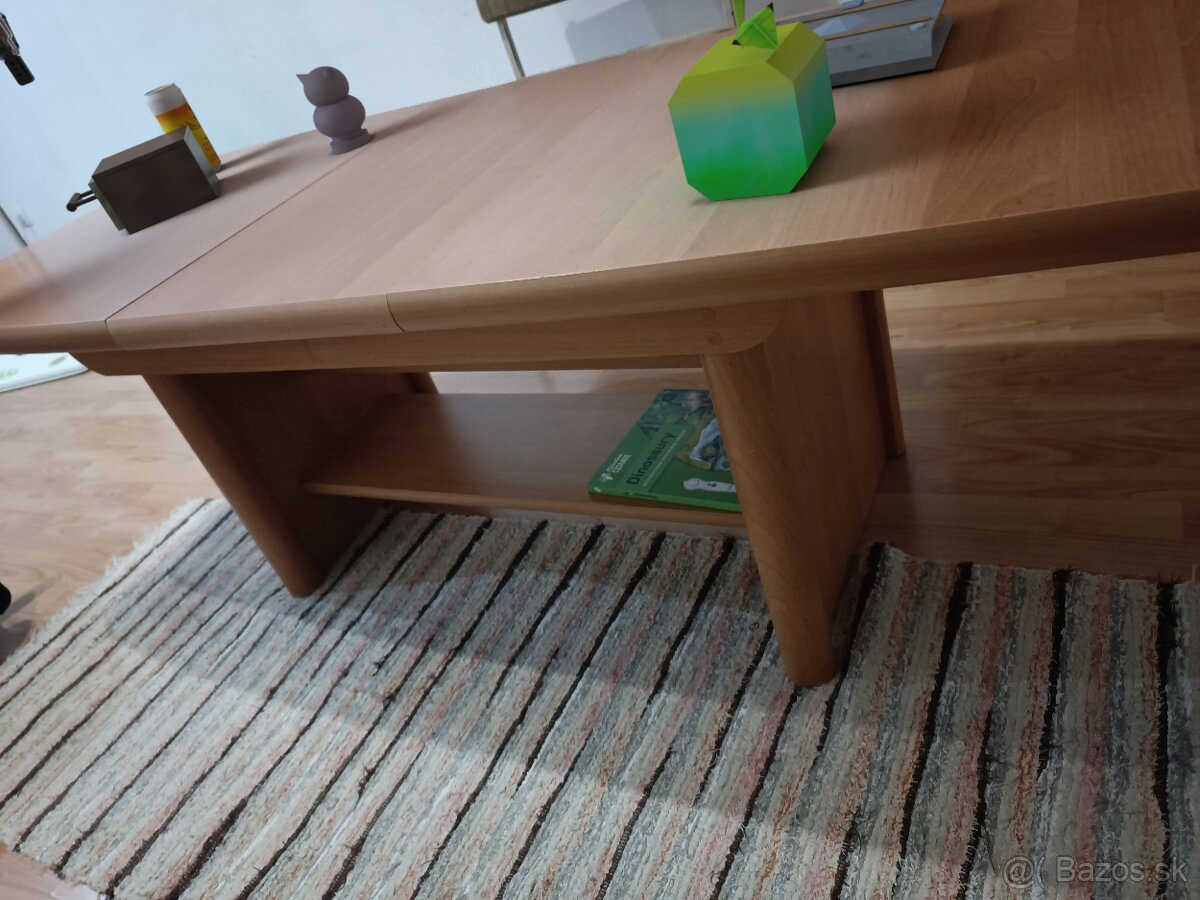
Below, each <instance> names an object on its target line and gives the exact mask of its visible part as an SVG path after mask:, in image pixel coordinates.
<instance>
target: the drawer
mask: <svg viewBox="0 0 1200 900" xmlns="http://www.w3.org/2000/svg"><path fill="white" fill-rule="evenodd" d="M87 186H88V187H89V190H87V191H84V192H81V193H80V192H74V193H73V194H72V196H71V197H70V198H69V200H68V202H67V203H66V205H65V209H66V210H67V211H68V212H69V213H75V212H77V209H78V208H79V207H81V206H84V205H86V204H88V203H90V202H94V201H95V200H97V201H98V202H99V204H100V205H101V207H102V208H103V210H104V211H105V213H106V214H107V216H108V217H109V219H110V220H111V222H112V223H113V225H114V227H115V228H116V229H117V231H118V232H121V231H123V230H126V229H125V227H124V225H123V224H122V222H121V221H120V219H119V218H118V216H117V215H116V213H115V212H114V210H113V209H112V207H111V206H110V204H109V203H108V201H107V200H106V198H105V197H104V195H103V194H102V192H101V191H100V189H99V188H98V186H97V185H96V183H95V182H94V180H93V179H92V177H90V180H89V181H88V183H87Z"/></svg>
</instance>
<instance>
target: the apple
mask: <svg viewBox="0 0 1200 900" xmlns="http://www.w3.org/2000/svg"><path fill="white" fill-rule="evenodd" d="M731 5H732V9H733V15H734V19H735V24H736V29H737V33H736V34H732V35H727V36H723V37H721V38H720V39H719V40H718V41H717V42H716V43H715V44H714V45H712V47H711V48H710V49H709V50H708V51H707V52H706V53H705V54H704V55H703V56H702V57H701V58H700V59H699V60H698V61H697V62H696V63H695V64H694V65H693V66H692V67H691V68H690V69H689V70H688V71H687V72H686V73H685V74H684V75H683V76H682V78H681V79H680V81H679V83H678V85H677V86H676V88H675V90H674V91H673V94H672V95H671V97H670V99H669V100H668V102H667V107H668V110H669V116H670V119H671V122H672V127H673V132H674V135H675V139H676V143H677V147H678V151H679V155H680V159H681V164H682V167H683V170H684V175H685V179H686V183H687V185H689V186H690V187H691V188H693V189H694V190H695V191H697V192H698V193H700V194H701V195H703V196H704V197H705V198H707V199H708V200H709V201H711V202H715V201H725V200H726V201H727V200H736V199H745V198H755V197H763V196H773V195H783V194H790V193H791V192H792V190H793V189H794V188H795V186H796V185H797V184H798V182H799V181H800V180H801V178H803V176H804V175H805V174H806V172H807V171H808V170H809V168H810V167H811V164H813V161H814V160H815V158H816V156H817V155H818V153H819V152H820V150H821V148H822V147H823V145H824V143H825V142H826V140H827V138H828V137H829V135H830V133H831V132H832V131H833V129H834V128H835V125H836V124H837V116H836V110H835V103H834V102H835V101H834V95H833V89H832V87H833V86H831V80H830V73H829V66H828V59H827V52H826V44H825V40H824V39H823V38H821V37H820V36H819V35H817V34H816V33H815V32H813V31H812V30H811V29H809V28H808V27H807V26H805V25H804V24H803V23H801V22H795V23H791V24H786V25H781V26H776V24H775V21H776V17H775V16H776V15H775V9H774V2H773V1H772V2H770V3H769V4H767V5H766V6H765V7H763V8H762V9H760V10H759V11H758V12H756V13H755V14H753V15H752V16H751V17H749V18H748V19H747V20H746V19H745V18H746V0H731Z"/></svg>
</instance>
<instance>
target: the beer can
mask: <svg viewBox="0 0 1200 900" xmlns="http://www.w3.org/2000/svg"><path fill="white" fill-rule="evenodd" d="M143 96H144V100H145V104H146V105H147V107H148V109H149V111H150V113H151V114H152V116H153V117H154V119H155V120H156V123H157V124H158V126H159V128H160V129H161V131H162V133H163V134H166V133H168V132H171V131H173V130H175V129H178V128H180V127H183V126H185V125H188V127H189V128H190V130H191V132H192V134H193V135H194V137H195V139H196V141H197V142H198V144H199V146H200V148H201V149H202V151H203V153H204V155H205V156H206V158H207V160H208V161H209V163H210V165H211V167H212V168H213V170H214V172H215V173H217V172H218V171H220V170H221V169H222V166H221V165H222V160H221V158H220V157H219V155H218V153H217V151H216V150H215V148H214V146H213V144H212V142H211V141H210V139H209V137H208V135H207V134H206V132H205V130H204V129H203V127H202V125H201V123H200V121H199V119H198V118H197V115H196V114H195V112H194V110H193V109H192V107H191V105H190V103H189V102H188V100H187V99H186V97H185V94H184V93H183V91H182V89H181V88H180V87H179V86H178V85H177V84H175V82H169V83H165V84H164V85H161V86H159V87H156V88H154V89H151V90H149V91H147V92H146V93H144V94H143Z"/></svg>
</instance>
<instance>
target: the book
mask: <svg viewBox="0 0 1200 900" xmlns="http://www.w3.org/2000/svg"><path fill="white" fill-rule="evenodd" d="M946 3H947V0H869V1H865V0H849V1H844V2H842V3H841V4H840V7H837V8H832V9H828V10H822V11H818V12H813V13H808V14H804V15H800V16H795V17H791V18H786V19H782V20H775V24H776V26H781V25H786V24H791V23H795V22H801V23H803V24H804V25H805V26H807V27H808V28H809V29H811V30H812V31H813V32H815V33H816V34H817V35H819V36H820V37H821V38H823V39H824V40H825V44H826V52H827V59H828V66H829V73H830V80H831V87H835V86H841V85H847V84H853V83H859V82H865V81H870V80H876V79H881V78H888V77H892V76H898V75H899V76H900V75H905V74H911V73H916V72H922V71H928V70H933V69H935V68H936V65H937V63H938V61H939V58H940V55H941V54H942V51H943V49H944V46H945V44H946V41H947V39H948V36H949V34H950V32H951V28H952V27H953V24H954V21H955V13H952V14H947V15H945V14H943V13H942V11H943V9H944V7H945V4H946Z"/></svg>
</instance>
